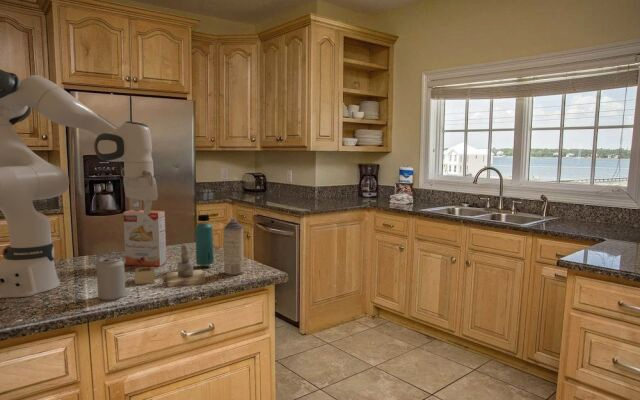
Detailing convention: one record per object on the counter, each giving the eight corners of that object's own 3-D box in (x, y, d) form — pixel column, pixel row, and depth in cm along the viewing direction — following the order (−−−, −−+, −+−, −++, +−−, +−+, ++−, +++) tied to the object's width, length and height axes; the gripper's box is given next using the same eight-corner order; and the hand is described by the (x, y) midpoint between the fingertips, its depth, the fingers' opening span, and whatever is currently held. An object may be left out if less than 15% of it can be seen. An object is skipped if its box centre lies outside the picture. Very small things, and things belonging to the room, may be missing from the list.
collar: (135, 284, 144) (134, 272, 144) (135, 279, 150) (135, 268, 150) (154, 282, 147) (154, 271, 146) (154, 277, 152) (154, 266, 152)
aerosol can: (247, 272, 159) (246, 218, 157) (232, 276, 154) (231, 220, 152) (235, 269, 164) (235, 216, 161) (220, 273, 158) (219, 218, 156)
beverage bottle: (209, 269, 163) (208, 216, 161) (192, 268, 164) (191, 215, 162) (216, 265, 169) (215, 213, 167) (201, 264, 171) (199, 213, 168)
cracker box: (124, 265, 168) (122, 211, 165) (133, 261, 173) (131, 209, 171) (159, 267, 166) (157, 212, 163) (167, 263, 172) (165, 210, 169)
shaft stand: (167, 286, 142) (166, 250, 141) (166, 276, 154) (165, 243, 152) (205, 283, 147) (204, 247, 145) (202, 273, 158) (201, 240, 156)
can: (106, 293, 136) (104, 255, 135) (130, 293, 136) (128, 255, 134) (93, 301, 129) (90, 261, 127) (118, 301, 128) (116, 261, 127)
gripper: (161, 171, 139) (163, 214, 141) (138, 170, 155) (140, 209, 156) (141, 172, 135) (144, 216, 137) (119, 171, 150) (122, 211, 152)
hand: (142, 212), depth 146 cm, fingers open, 8 cm apart
